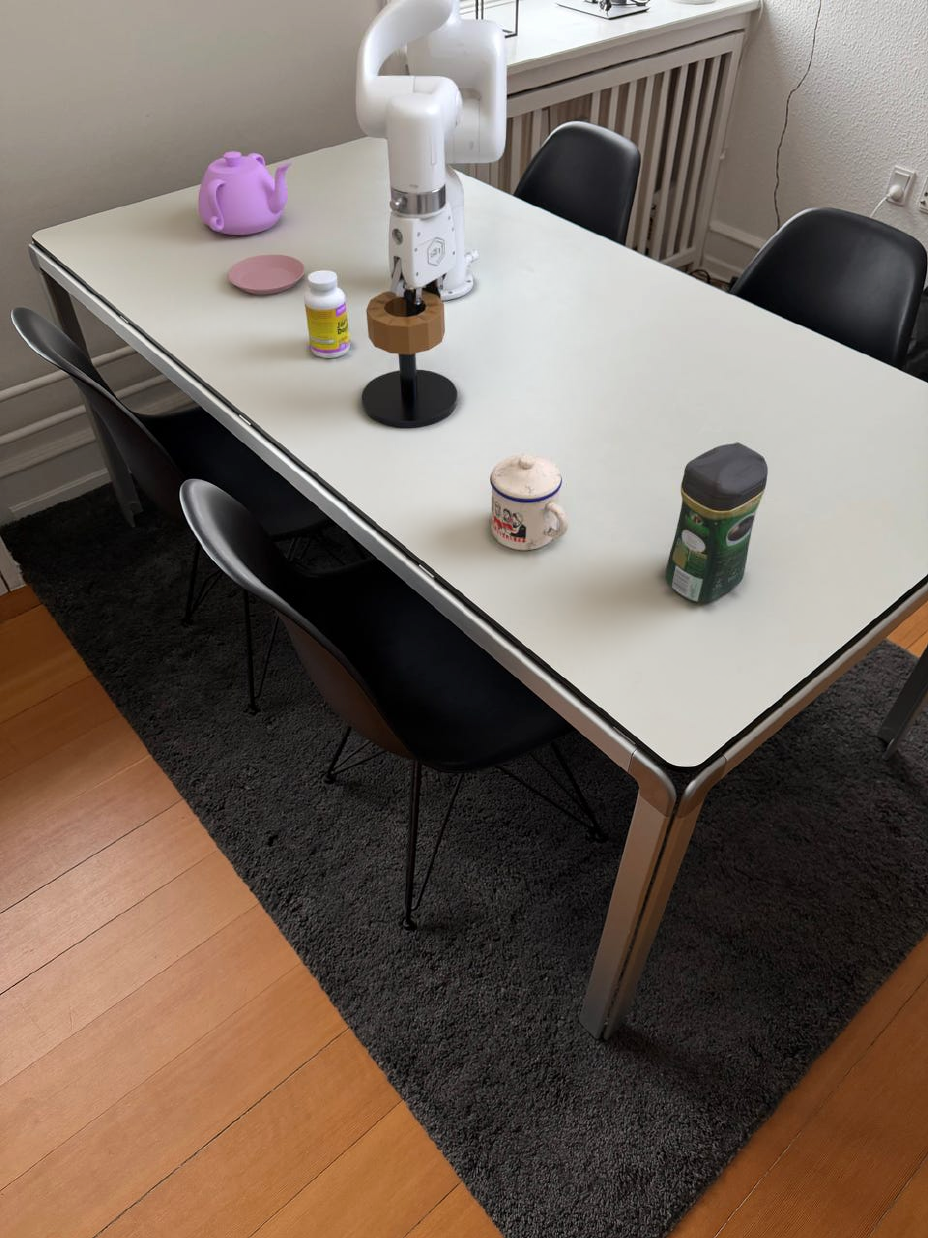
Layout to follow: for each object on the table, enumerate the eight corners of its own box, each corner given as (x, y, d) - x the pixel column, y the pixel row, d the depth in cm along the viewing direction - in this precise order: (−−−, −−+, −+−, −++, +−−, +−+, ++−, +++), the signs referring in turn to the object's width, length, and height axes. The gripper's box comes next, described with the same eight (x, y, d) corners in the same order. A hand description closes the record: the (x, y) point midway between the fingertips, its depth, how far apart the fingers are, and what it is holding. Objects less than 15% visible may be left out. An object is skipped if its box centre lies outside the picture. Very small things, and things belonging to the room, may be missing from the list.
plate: (285, 304, 171) (283, 293, 170) (215, 293, 175) (213, 282, 173) (318, 269, 181) (317, 259, 179) (251, 260, 184) (250, 250, 183)
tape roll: (403, 309, 146) (401, 281, 143) (458, 331, 141) (458, 302, 138) (354, 338, 140) (351, 310, 137) (411, 362, 135) (409, 333, 132)
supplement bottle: (344, 361, 157) (335, 287, 148) (306, 357, 158) (295, 284, 149) (355, 341, 161) (347, 268, 152) (318, 337, 162) (308, 265, 153)
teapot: (275, 254, 186) (263, 182, 176) (180, 239, 191) (163, 168, 181) (324, 211, 200) (316, 141, 190) (235, 198, 206) (222, 130, 196)
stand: (404, 365, 156) (400, 293, 147) (476, 395, 149) (476, 322, 140) (342, 406, 147) (333, 332, 138) (415, 439, 141) (411, 364, 132)
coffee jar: (704, 548, 123) (730, 427, 110) (751, 580, 118) (785, 458, 105) (651, 579, 119) (673, 458, 106) (699, 614, 114) (727, 492, 101)
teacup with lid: (475, 528, 126) (475, 456, 118) (525, 500, 130) (528, 429, 122) (538, 574, 120) (542, 501, 111) (587, 542, 124) (595, 470, 116)
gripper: (400, 223, 123) (407, 350, 136) (476, 183, 132) (476, 306, 145) (357, 209, 126) (369, 334, 140) (435, 171, 135) (439, 292, 148)
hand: (424, 319), depth 142 cm, fingers closed on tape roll, 3 cm apart
